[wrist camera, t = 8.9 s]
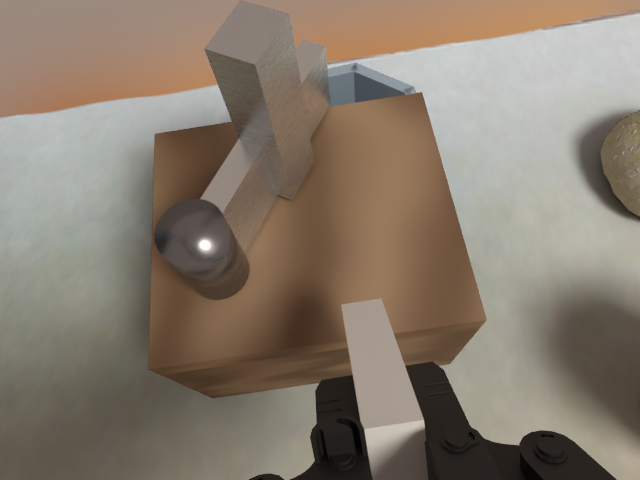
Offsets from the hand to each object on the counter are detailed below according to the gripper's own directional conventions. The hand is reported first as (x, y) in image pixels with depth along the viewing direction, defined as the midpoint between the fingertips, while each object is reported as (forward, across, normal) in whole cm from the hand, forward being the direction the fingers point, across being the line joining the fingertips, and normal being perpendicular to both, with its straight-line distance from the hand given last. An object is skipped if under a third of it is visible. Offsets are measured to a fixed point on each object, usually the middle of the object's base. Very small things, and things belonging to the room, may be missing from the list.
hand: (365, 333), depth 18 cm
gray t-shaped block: (+8, -3, +4) cm, 10 cm away
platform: (+14, -2, -4) cm, 15 cm away
